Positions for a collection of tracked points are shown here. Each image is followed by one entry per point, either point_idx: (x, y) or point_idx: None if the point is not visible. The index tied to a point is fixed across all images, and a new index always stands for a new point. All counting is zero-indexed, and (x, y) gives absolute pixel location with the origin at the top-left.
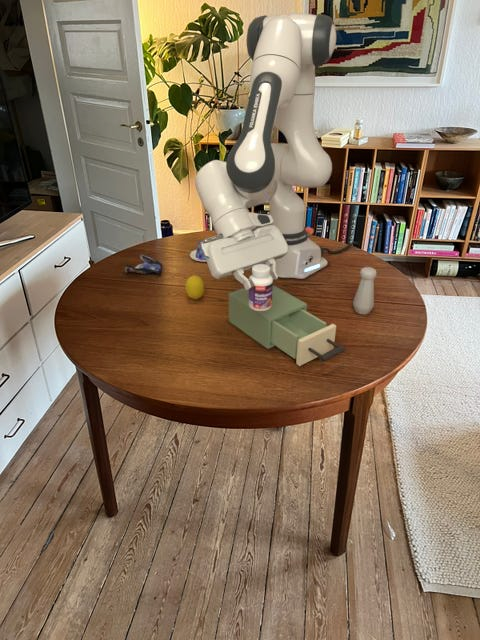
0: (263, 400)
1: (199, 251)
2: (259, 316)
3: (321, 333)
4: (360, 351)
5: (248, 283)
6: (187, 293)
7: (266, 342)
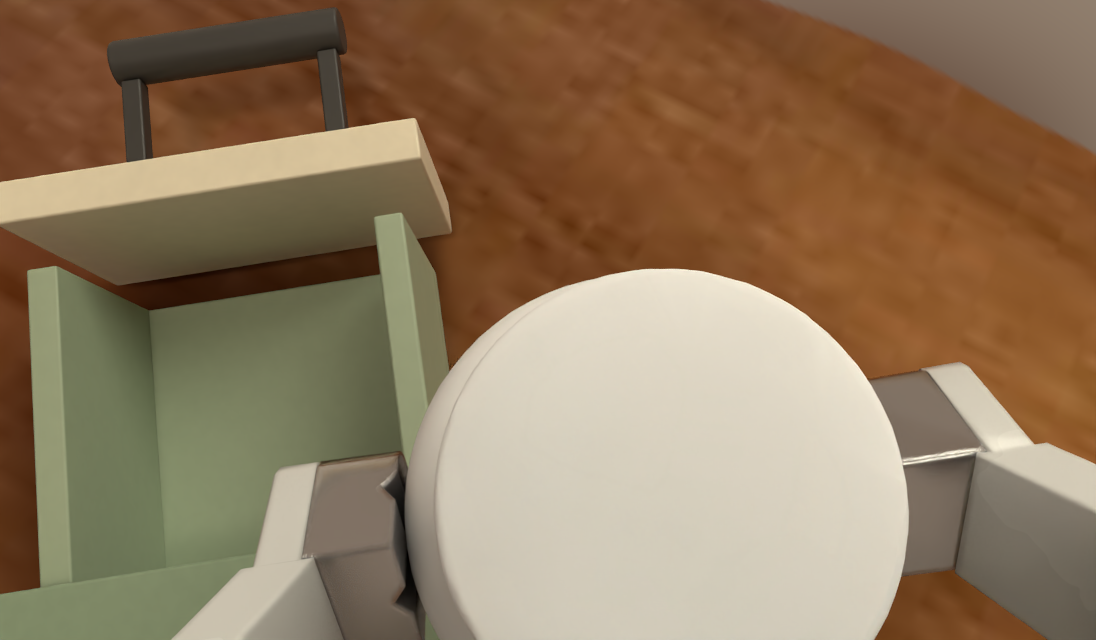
0: (810, 66)
1: None
2: None
3: (183, 154)
4: None
5: (985, 399)
6: None
7: None
